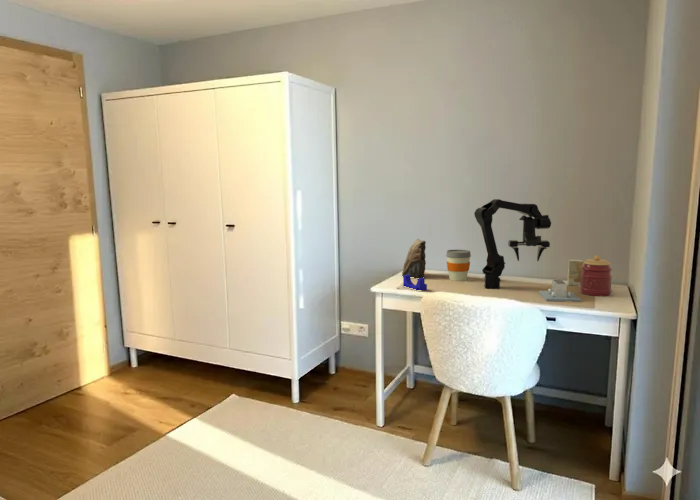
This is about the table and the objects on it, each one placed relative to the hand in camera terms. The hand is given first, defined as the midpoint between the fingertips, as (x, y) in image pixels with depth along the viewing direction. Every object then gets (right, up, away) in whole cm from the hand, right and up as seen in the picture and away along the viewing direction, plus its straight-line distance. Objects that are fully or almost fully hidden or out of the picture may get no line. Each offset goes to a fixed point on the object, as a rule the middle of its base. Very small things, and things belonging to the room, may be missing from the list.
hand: (528, 260), depth 251 cm
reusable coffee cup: (-31, -10, +18) cm, 37 cm away
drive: (+5, -15, -25) cm, 30 cm away
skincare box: (+23, -12, +1) cm, 26 cm away
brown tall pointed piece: (-53, -9, +27) cm, 60 cm away
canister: (+24, -15, -18) cm, 34 cm away
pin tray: (+5, -16, -25) cm, 30 cm away
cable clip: (-56, -14, -4) cm, 58 cm away
